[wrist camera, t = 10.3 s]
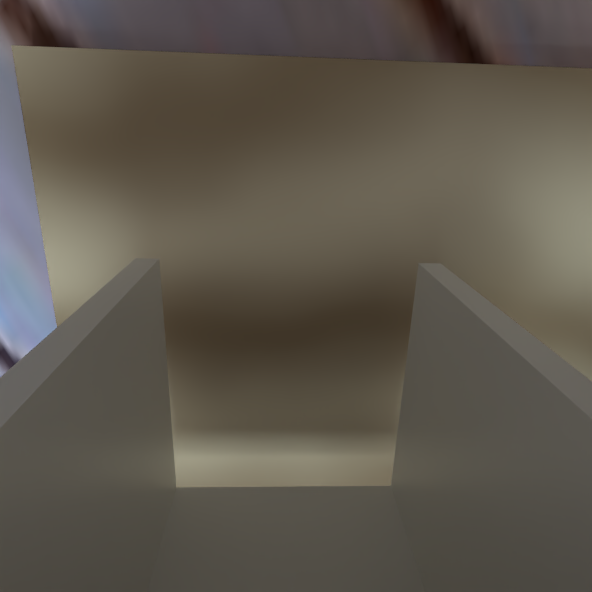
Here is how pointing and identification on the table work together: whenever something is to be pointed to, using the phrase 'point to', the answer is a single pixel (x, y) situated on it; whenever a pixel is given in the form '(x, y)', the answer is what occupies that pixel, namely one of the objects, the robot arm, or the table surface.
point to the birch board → (308, 230)
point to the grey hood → (300, 499)
